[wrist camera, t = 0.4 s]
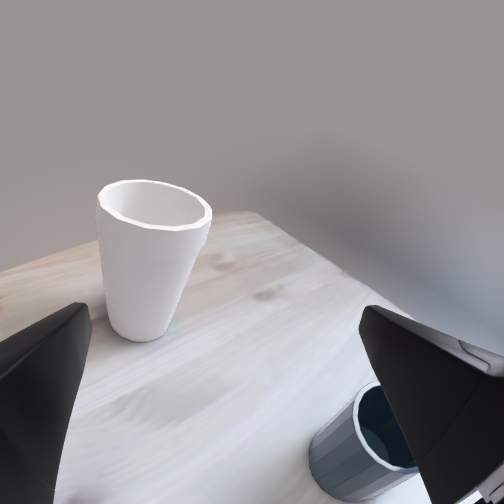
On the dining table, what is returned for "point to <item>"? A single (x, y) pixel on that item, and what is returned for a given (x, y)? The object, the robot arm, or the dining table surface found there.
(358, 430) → the cup
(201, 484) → the dining table surface
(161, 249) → the foam cup
